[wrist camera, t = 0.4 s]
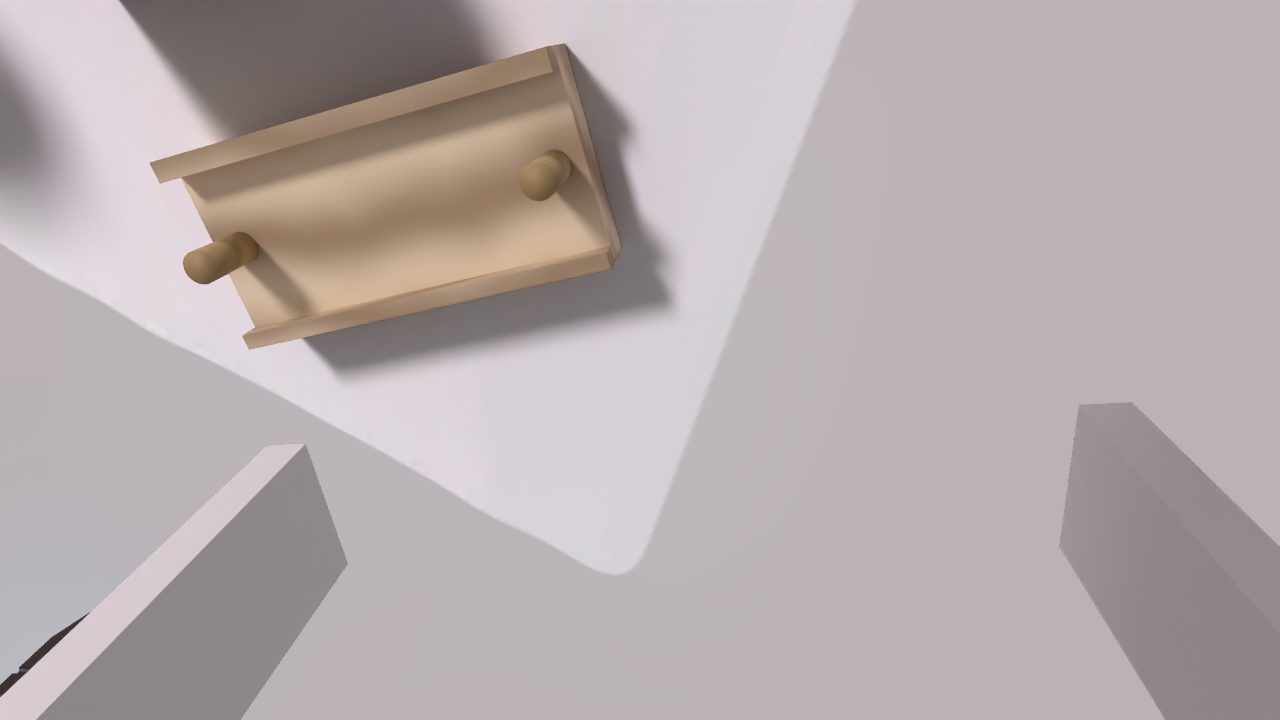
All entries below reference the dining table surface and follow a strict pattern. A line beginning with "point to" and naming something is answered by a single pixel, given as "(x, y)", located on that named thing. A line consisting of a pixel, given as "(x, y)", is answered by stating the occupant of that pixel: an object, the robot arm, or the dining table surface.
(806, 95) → the dining table surface
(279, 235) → the ledge
